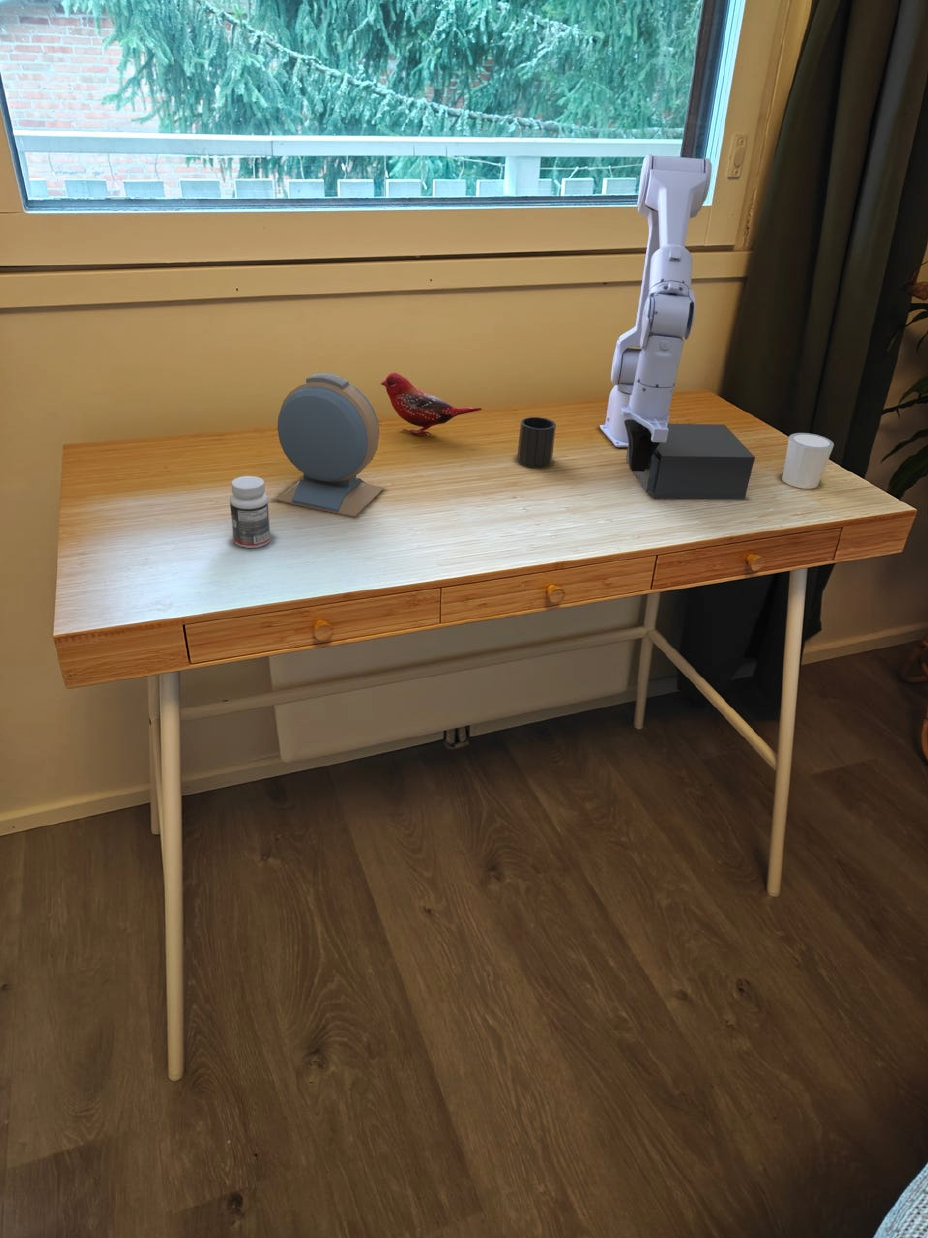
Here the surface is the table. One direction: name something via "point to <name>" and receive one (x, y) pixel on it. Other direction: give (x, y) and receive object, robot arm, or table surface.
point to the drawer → (647, 472)
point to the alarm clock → (329, 444)
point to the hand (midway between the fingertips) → (637, 469)
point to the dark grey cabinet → (702, 463)
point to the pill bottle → (249, 512)
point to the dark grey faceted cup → (536, 442)
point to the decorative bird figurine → (419, 404)
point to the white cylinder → (806, 459)
